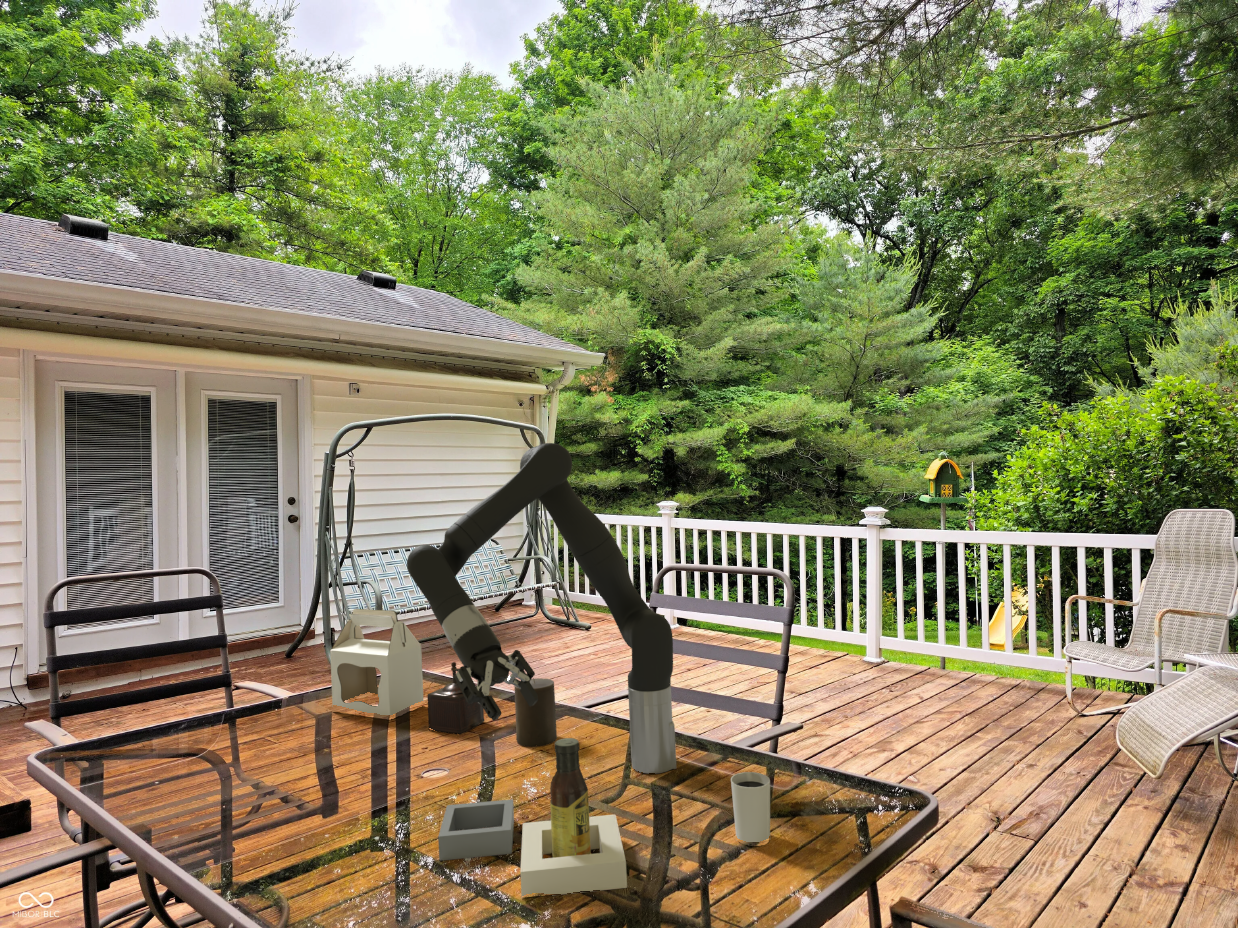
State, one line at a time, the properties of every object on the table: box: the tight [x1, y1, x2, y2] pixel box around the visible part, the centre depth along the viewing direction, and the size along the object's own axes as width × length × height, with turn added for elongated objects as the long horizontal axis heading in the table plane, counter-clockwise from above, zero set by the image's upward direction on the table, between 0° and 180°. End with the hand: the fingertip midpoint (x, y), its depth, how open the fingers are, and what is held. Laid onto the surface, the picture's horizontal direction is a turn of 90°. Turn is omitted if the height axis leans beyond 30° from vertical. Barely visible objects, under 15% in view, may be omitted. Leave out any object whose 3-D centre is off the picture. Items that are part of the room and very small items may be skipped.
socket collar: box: [519, 814, 628, 897], centre depth 122 cm, size 16×16×4 cm
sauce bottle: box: [549, 737, 592, 858], centre depth 122 cm, size 6×6×20 cm
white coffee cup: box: [730, 771, 771, 842], centre depth 128 cm, size 7×7×10 cm
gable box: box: [329, 608, 425, 715], centre depth 212 cm, size 22×13×28 cm, turn 63°
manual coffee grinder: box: [427, 661, 485, 736], centre depth 196 cm, size 16×11×18 cm
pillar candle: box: [513, 677, 558, 748], centre depth 181 cm, size 10×10×15 cm
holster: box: [437, 799, 515, 862], centre depth 132 cm, size 12×12×4 cm
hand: (516, 710), depth 130 cm, fingers open, 8 cm apart
